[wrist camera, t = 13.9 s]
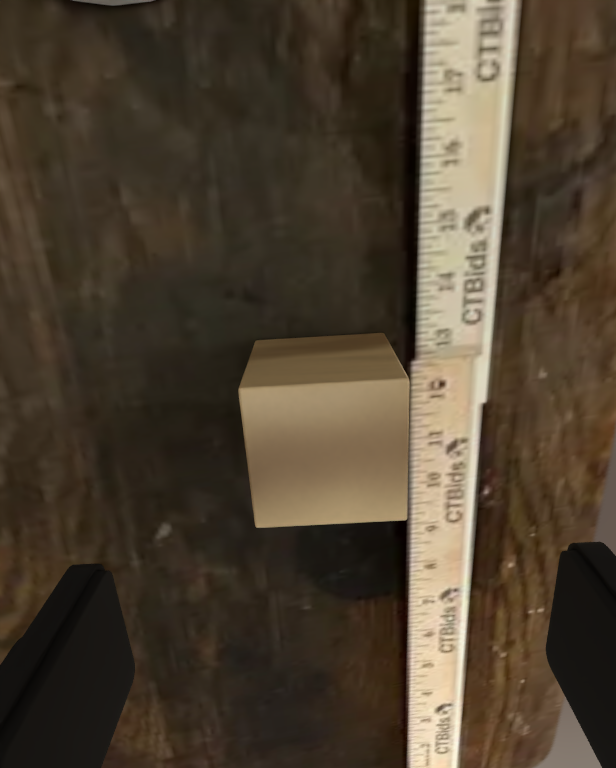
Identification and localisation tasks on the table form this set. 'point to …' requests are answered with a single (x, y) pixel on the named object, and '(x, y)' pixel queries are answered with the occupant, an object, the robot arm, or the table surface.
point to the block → (326, 430)
